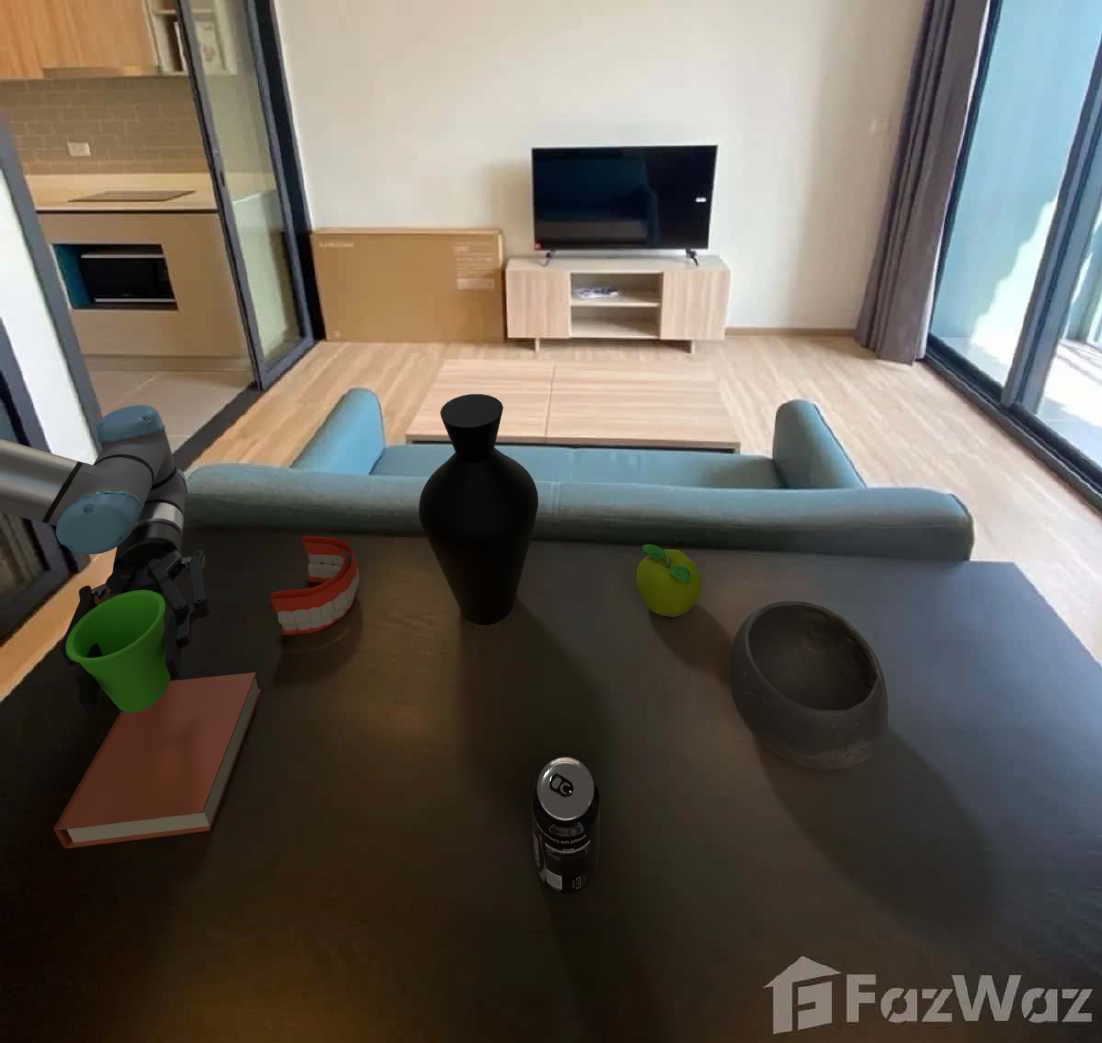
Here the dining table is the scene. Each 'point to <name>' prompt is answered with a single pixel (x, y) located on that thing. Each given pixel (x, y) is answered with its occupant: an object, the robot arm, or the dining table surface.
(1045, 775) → the dining table surface
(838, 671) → the bowl
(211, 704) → the book
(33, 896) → the dining table surface
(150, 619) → the cup
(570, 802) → the beverage can
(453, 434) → the vase
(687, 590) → the fruit
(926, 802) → the dining table surface
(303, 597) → the toy
